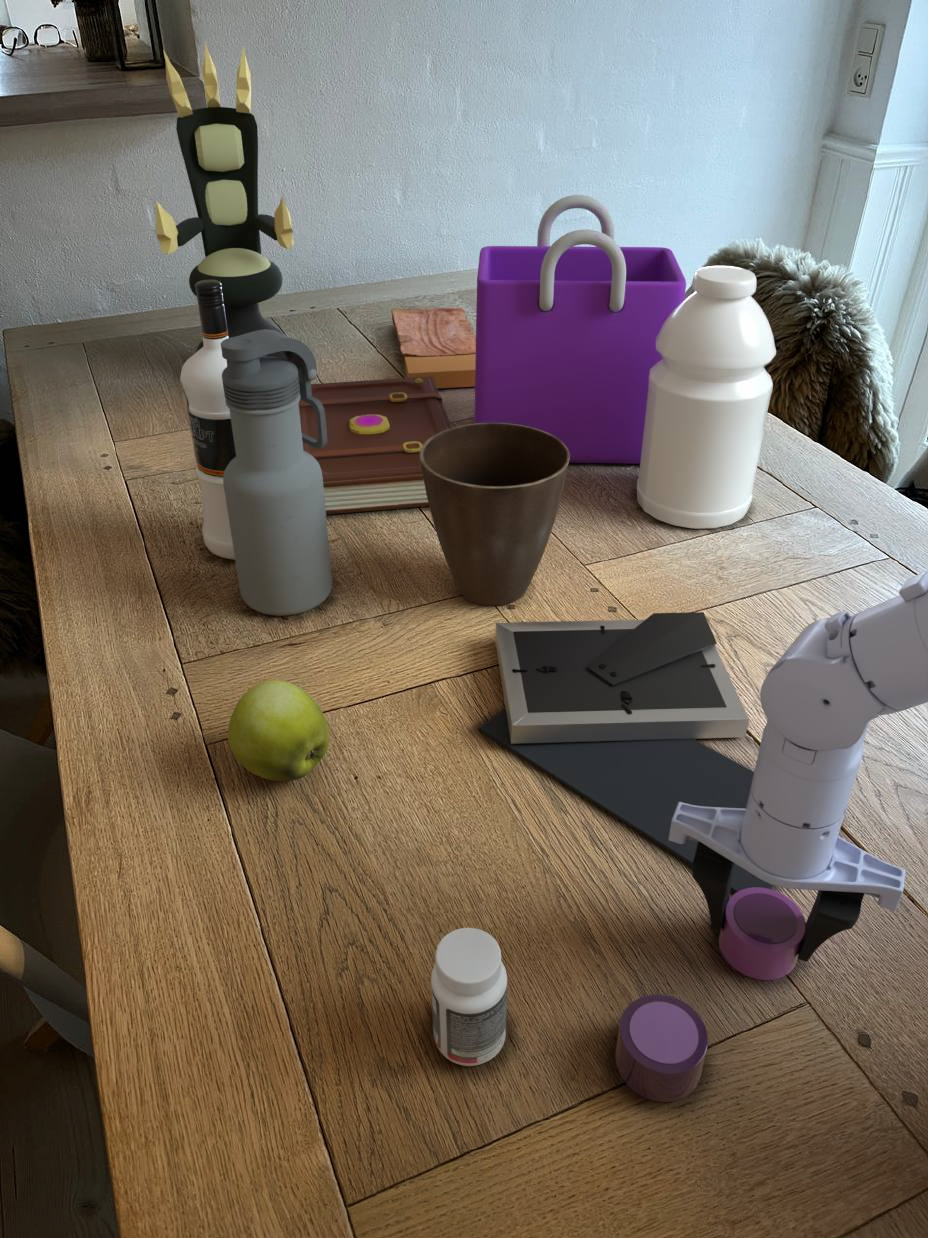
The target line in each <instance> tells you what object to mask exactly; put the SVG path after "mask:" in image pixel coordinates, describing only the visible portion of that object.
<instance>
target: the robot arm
mask: <svg viewBox="0 0 928 1238" xmlns="http://www.w3.org/2000/svg"><path fill="white" fill-rule="evenodd" d="M898 593H899V595H896V596H894V597H892V598H890V599H887V600H885V601H883V602H880V603H878V604H875V605H872V606H870V607H869V608H866V609H864V610H861V611H859V612H857V613H854V614H852V615H851V614H850V612H848V610H842V611H839V612H837V613H834V614H832V615H831V616H830V617H824V618H821V619H817V620H815V621H813V622H811V623H809V624H808V625H806V626H805V627H804V628H803V629H802V630H801V632H800V633H799V634H798V635H797V636H796V638H795V639H794V640H793V641H792V642H791V644H790V645H789V646H788V647H787V649H786V650H785V651H784V653H783V654H782V655H781V656H780V658H779V659H778V660H777V661H776V663H774V664H773V666H772V667H771V668H770V670H769V671H768V673H767V675H766V676H765V678H764V680H763V682H762V684H761V688H760V694H759V695H760V696H759V698H760V705H761V708H762V711H763V713H764V716H765V717H766V724H765V726H764V728H763V731H762V736H761V740H760V744H759V749H758V753H757V757H756V763H755V767H754V771H753V772H754V775H753V780H752V785H751V789H750V794H749V798H748V803H747V807H746V809H741V808H720V807H704V806H696V805H690V804H686V803H682V802H678V805H677V807H676V810H675V813H674V815H673V818H672V821H671V827H670V833H669V841H672V842H675V843H679V844H684V843H685V842H686V839H689V840H693V841H696V842H698V844H697V849H696V853H695V857H694V860H693V863H692V866H691V874H692V879H693V880H694V881H695V882H696V883H697V884H698V887H699V888H700V890H701V892H702V893H703V896H704V900H705V902H706V905H707V908H708V913H709V919H710V929H711V930H712V931H714V932H717V933H720V931H721V928H722V923H723V919H724V913H725V908H726V905H727V902H728V900H729V899H730V897H731V896H730V895H731V891H730V887H731V879H732V872H733V868H734V863H735V864H737V865H738V866H740V867H742V868H743V869H745V870H746V871H748V872H750V873H751V874H753V875H755V876H756V877H758V878H759V879H761V880H763V881H765V882H767V883H769V884H772V885H774V886H775V887H778V888H781V889H790V890H803V891H804V890H806V891H817V894H816V897H815V900H814V902H813V905H812V908H811V909H810V910H811V911H810V912H809V915H808V917H807V919H806V921H805V922H806V932H805V936H804V938H803V941H802V944H801V947H800V950H799V954H798V959H797V960H800V961H803V962H805V963H806V962H809V960H810V958H811V957H812V956H813V954H815V952H816V951H817V950H818V949H819V948H820V947H821V946H822V945H823V944H824V943H825V942H827V940H829V939H830V938H832V937H834V936H836V935H837V934H839V933H841V932H844V931H847V930H852V928H853V927H854V926H855V925H856V923H857V922H858V920H859V918H860V915H861V909H862V904H863V900H864V897H865V895H867V896H870V897H873V898H876V899H878V900H877V904H878V906H879V907H881V908H883V909H886V910H890V911H893V912H896V911H897V909H898V906H899V904H900V901H901V898H902V896H903V894H904V887H905V879H906V869H905V868H903V867H900V866H897V865H894V864H892V863H889V862H887V861H884V860H882V859H880V858H878V857H876V856H875V855H873V854H871V853H869V852H867V851H865V850H863V849H862V848H860V847H858V846H857V845H855V844H853V843H852V842H849V841H848V840H847V839H844V838H843V837H840V836H839V835H840V831H841V827H842V825H843V821H844V818H845V816H846V812H847V807H848V805H849V801H850V798H851V795H852V791H853V788H854V785H855V782H856V778H857V775H858V772H859V769H860V766H861V762H862V759H863V754H864V742H865V738H866V735H867V732H868V729H869V725H870V722H871V721H872V720H873V719H877V718H879V717H880V716H886V715H892V714H896V713H899V712H903V711H905V710H908V709H911V708H914V707H918V706H921V705H924V704H927V703H928V570H927V571H926V570H924V571H923V572H920V573H918V574H915V575H913V576H911V577H908V578H907V579H906V581H905V582H904V583H903V585H902V586H901V588H900V589H899V591H898Z"/></svg>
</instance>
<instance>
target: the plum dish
mask: <svg viewBox="0 0 928 1238" xmlns="http://www.w3.org/2000/svg"><path fill="white" fill-rule="evenodd" d="M806 922H807V921H806V920H805V916H804V914H803V912H802V910H801V909H800V908H799V906H798V905H797V904H796V903H795V902H794V901H793V900H791V898H790V897H787V895H785V894H783V893H781V892H779V891H776V890H774V889H772V888H771V889H767V888H761V887H752V888H746V889H743V890H740V891H738V892H736V893H733V894H732V895H731V896H730V897H729V900H728V902H727V905H726V908H725V913H724V919H723V923H722V928H721V931H720V932H719V936H718V946H719V950H720V952H721V954H722V957H723V958H724V959H725V961H726V962H727V963H728V964H729V966H731V967H732V968H733V969H734V970H735V971H737V972H739V973H740V974H742V975H744V976H745V977H749V978H751V979H753V980H754V979H755V980H760V981H774V980H778V979H781V978H783V977H785V976H787V975H789V974H790V973H791V972H792V971H793V969H794V968H795V966H796V964H797V962H798V960H799V959H798V954H799V950H800V947H801V944H802V941H803V938H804V936H805V932H806Z"/></svg>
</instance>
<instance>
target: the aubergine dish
mask: <svg viewBox="0 0 928 1238" xmlns="http://www.w3.org/2000/svg"><path fill="white" fill-rule="evenodd" d="M708 1046H709V1035H708V1030H707V1027H706V1025H705V1023H704V1021H703V1020H702V1018H701V1015H699V1014H698V1012H697V1011H696V1010H695V1009H694V1008H693V1007H692V1006H690V1005H689V1004H688V1003H686V1002H685V1001H683V1000H681V999H680V998H677V997H674V996H671V995H666V994H659V993H658V994H657V993H656V994H648V995H644V996H640V997H639V998H637V999H635V1000H633V1001H632V1002H631V1003H630V1004H628V1006H627V1007H626V1008H625V1009H624V1011H623V1013H622V1015H621V1018H620V1021H619V1027H618V1034H617V1041H616V1047H615V1057H614V1058H615V1064H616V1068H617V1071H618V1073H619V1075H620V1077H621V1078H622V1080H623V1082H624V1083H625V1084H626V1085H627V1086H628V1087H629V1088H630V1089H631V1090H632V1091H633V1092H634V1093H636V1094H637V1095H639V1096H640V1097H642V1098H644V1099H646V1100H650V1101H653V1102H659V1103H672V1102H676V1101H679V1100H683V1099H684V1098H686V1097H687V1096H689V1095H690V1094H691V1093H692V1092H693V1091H694V1090H695V1089H696V1087H698V1084H699V1082H700V1079H701V1076H702V1072H703V1069H704V1063H705V1060H706V1055H707V1050H708V1048H709V1047H708Z"/></svg>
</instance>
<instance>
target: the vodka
mask: <svg viewBox="0 0 928 1238" xmlns="http://www.w3.org/2000/svg"><path fill="white" fill-rule="evenodd" d="M221 286H222V284H221V282H219V281H217V280H202V281H199V282H197V283H196V284H195V288H196V294H197V297H196V299H197V300H196V301H197V305H198V313H199V320H200V327H201V333H202V334H201V335H202V340H203V344H204V346H203V347H202V348H201V349H200V350H199V351H197V352H196V351H195V352H196V353H195V352H194V354H192V355H191V356H189V358H188V359H187V360H185V362H184V363H183V365H182V367H181V372H180V377H179V380H180V383H181V385H182V388H183V394H184V399H185V406H186V411H187V418H188V422H189V428H190V429H189V430H190V435H191V440H192V447H193V452H194V458H195V459H194V460H195V464H196V466H195V473H196V475H197V477H198V483H199V487H200V494H201V495H200V496H201V506H202V519H203V523H202V527H201V532H202V540H203V543H204V545H205V546H206V547H207V550H208V551H209V552H211V553H212V554H213V555H216V556H217V557H220V558H224V559H228V560H232V561H233V560H234V561H235V555H234V549H233V542H232V536H231V530H230V523H229V517H228V511H227V504H226V498H225V491H224V485H223V475H224V471H225V469H226V467H227V466H228V464H229V463H230V462H231V460H233V459H234V458H235V457H236V451H235V445H234V438H233V431H232V424H231V417H230V410H229V408H228V407H227V406H226V402H225V400H226V399H225V395H224V388H223V381H222V372H223V370H224V369H225V368H226V367H227V360H226V359H224V358H223V356H222V350H221V342H222V341H223V340H225V339H228V338H229V337H228V329H227V322H226V315H225V308H224V304H223V303H224V300H223V293H222V287H221Z"/></svg>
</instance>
